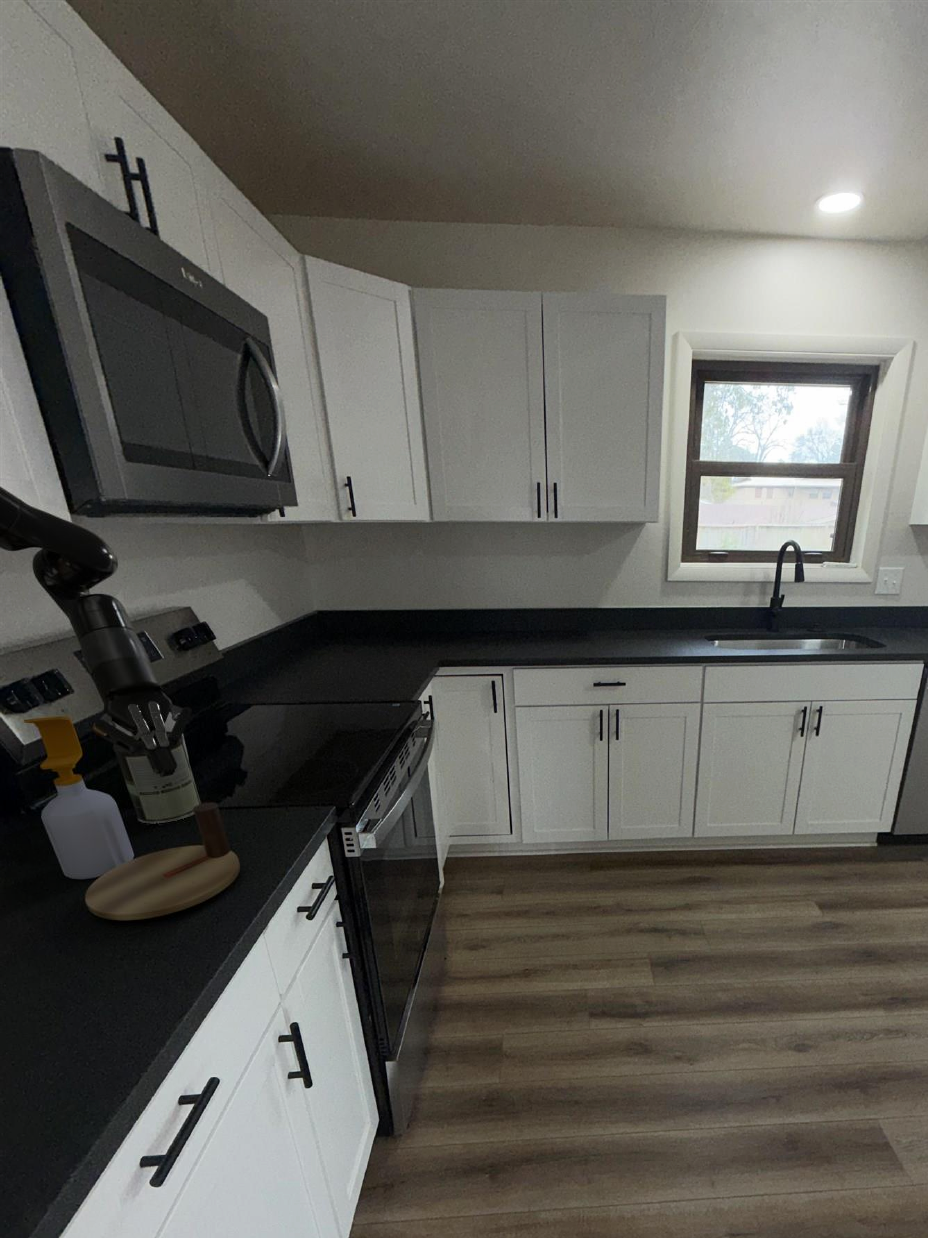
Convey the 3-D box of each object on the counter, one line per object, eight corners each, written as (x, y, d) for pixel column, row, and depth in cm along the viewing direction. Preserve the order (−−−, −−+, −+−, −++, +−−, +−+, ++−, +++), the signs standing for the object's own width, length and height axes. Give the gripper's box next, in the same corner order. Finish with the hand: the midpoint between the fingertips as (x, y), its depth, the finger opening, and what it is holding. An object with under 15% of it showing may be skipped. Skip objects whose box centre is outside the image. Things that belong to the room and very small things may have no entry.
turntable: (51, 912, 86) (26, 854, 83) (161, 846, 104) (144, 795, 100) (175, 927, 84) (155, 867, 80) (267, 856, 101) (254, 804, 97)
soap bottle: (56, 886, 95) (-9, 728, 85) (73, 858, 103) (15, 710, 92) (128, 873, 98) (73, 720, 88) (139, 847, 106) (90, 703, 96)
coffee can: (122, 822, 114) (96, 748, 108) (169, 798, 123) (147, 729, 117) (172, 827, 112) (148, 752, 106) (215, 803, 121) (195, 732, 116)
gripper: (164, 672, 101) (208, 772, 101) (61, 682, 91) (110, 794, 91) (176, 650, 96) (222, 756, 96) (69, 659, 86) (120, 777, 86)
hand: (167, 774), depth 94 cm, fingers closed
